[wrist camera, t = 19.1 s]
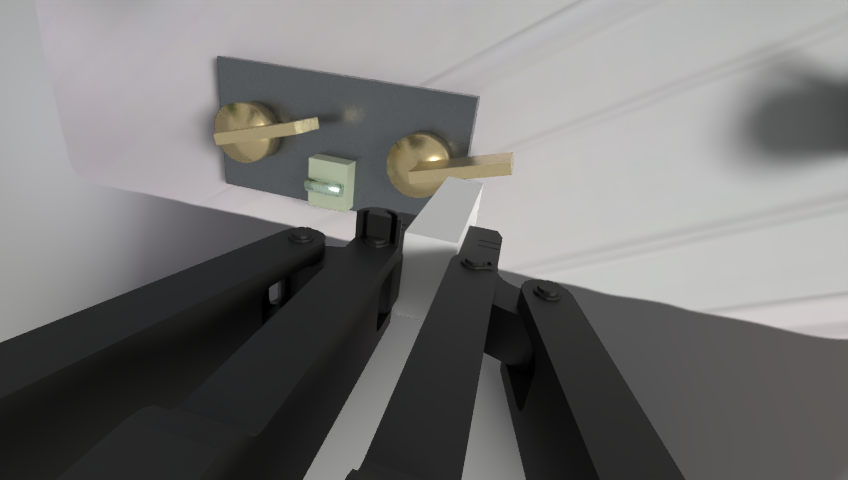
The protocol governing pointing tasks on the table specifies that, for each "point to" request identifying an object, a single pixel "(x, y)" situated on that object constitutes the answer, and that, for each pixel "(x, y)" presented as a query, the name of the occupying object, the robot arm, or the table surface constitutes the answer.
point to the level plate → (340, 132)
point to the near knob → (437, 165)
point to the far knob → (254, 130)
